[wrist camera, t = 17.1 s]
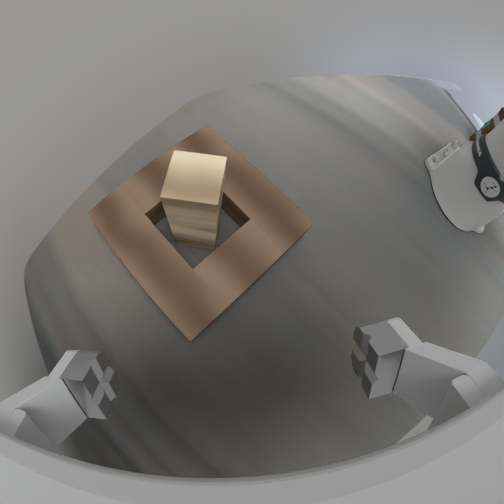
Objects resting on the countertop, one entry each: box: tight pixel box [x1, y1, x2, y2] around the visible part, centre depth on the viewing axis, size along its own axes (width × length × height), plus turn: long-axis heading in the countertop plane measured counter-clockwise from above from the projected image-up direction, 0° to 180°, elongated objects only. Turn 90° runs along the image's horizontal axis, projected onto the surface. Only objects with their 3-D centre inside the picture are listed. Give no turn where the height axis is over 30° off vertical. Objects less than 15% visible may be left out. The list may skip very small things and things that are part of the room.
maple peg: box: [160, 150, 227, 250], centre depth 27 cm, size 4×4×12 cm
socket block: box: [88, 125, 314, 342], centre depth 30 cm, size 18×18×4 cm
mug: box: [470, 108, 504, 142], centre depth 43 cm, size 20×14×15 cm
